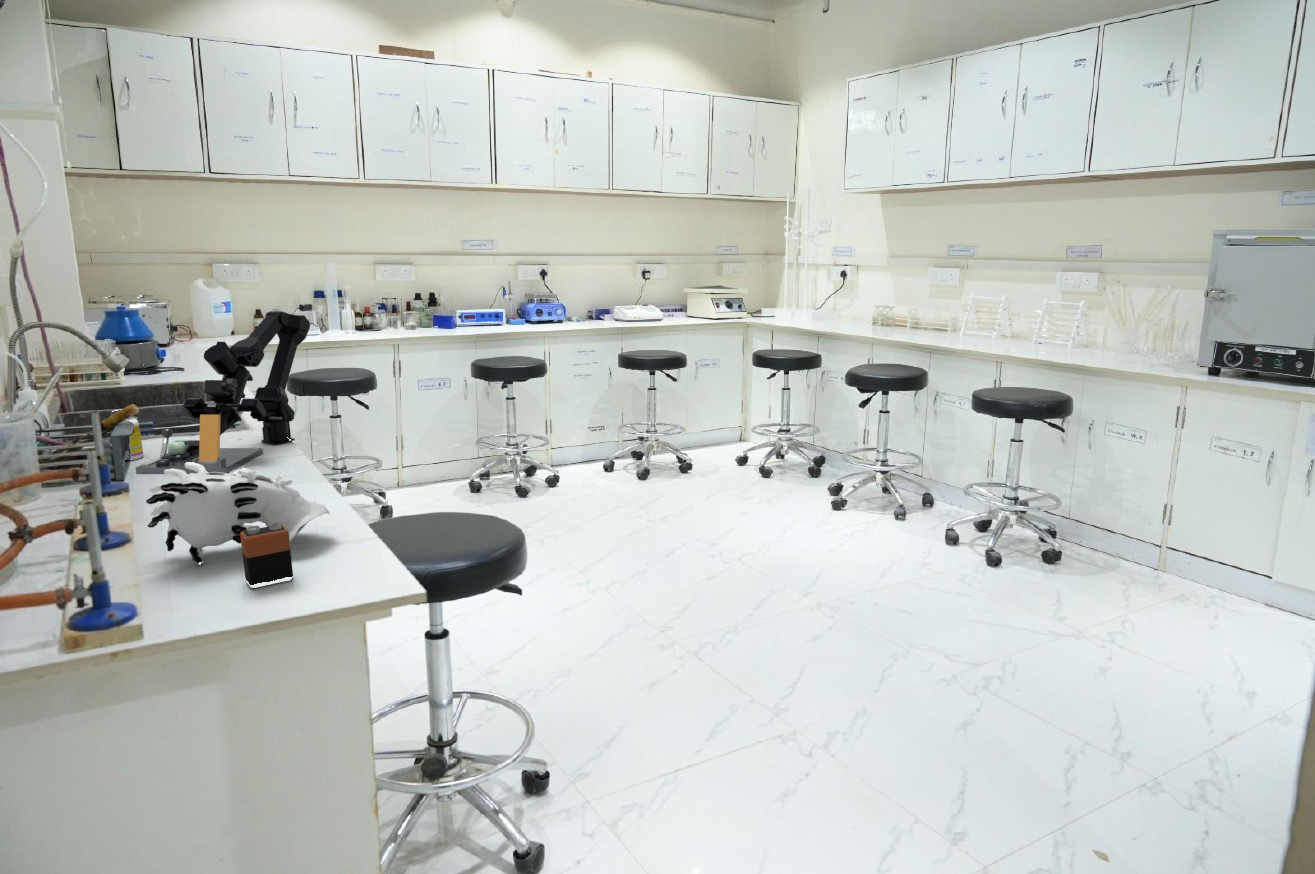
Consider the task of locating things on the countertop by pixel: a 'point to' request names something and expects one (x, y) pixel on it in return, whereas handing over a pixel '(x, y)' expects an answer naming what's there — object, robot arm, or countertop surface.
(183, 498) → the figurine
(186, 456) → the panel
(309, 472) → the countertop surface
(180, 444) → the button
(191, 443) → the labelled grey box
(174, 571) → the countertop surface
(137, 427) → the yellow bottle
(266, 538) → the battery
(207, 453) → the paddle
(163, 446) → the toggle
